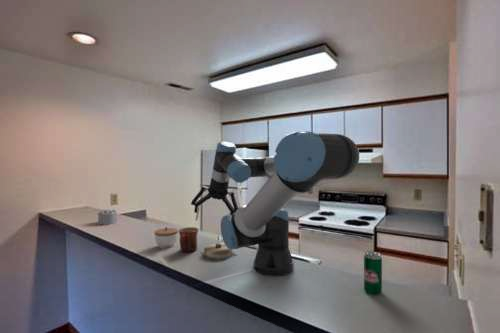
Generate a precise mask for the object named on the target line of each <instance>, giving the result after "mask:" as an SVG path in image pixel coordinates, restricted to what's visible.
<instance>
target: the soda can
mask: <svg viewBox="0 0 500 333" xmlns="http://www.w3.org/2000/svg"><path fill="white" fill-rule="evenodd" d="M364 253H365V254H364V255H363V289H364V291H365V293H366V294H368V295H372V296H379V295H381V294H382V292H383V257H382V255H381V253H380V252H377V251H370V250H369V251H368V250H367V251H365V252H364Z"/></svg>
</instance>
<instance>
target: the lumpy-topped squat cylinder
mask: <svg viewBox="0 0 500 333" xmlns="http://www.w3.org/2000/svg"><path fill="white" fill-rule="evenodd" d="M97 216H98V218H97V220H98V221H97V223H99V225H100V224H103V225H102V226H110V225H109V224H113V225H115V223H116V224H117V223H118V217H117V216H118V212H117V211H116V209H103V210H100V211H99V212H98V213H97Z"/></svg>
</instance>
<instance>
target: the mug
mask: <svg viewBox="0 0 500 333" xmlns="http://www.w3.org/2000/svg"><path fill="white" fill-rule="evenodd" d="M198 232H199V228H198V227H193V226H192V227H190V226H189V227H183V228H182V227H181V228H180V229H178V235H179V246H180V248H179V249H180V252H182V253H183V254H188V253H189V254H190V253H194V252H197V250H198Z"/></svg>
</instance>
